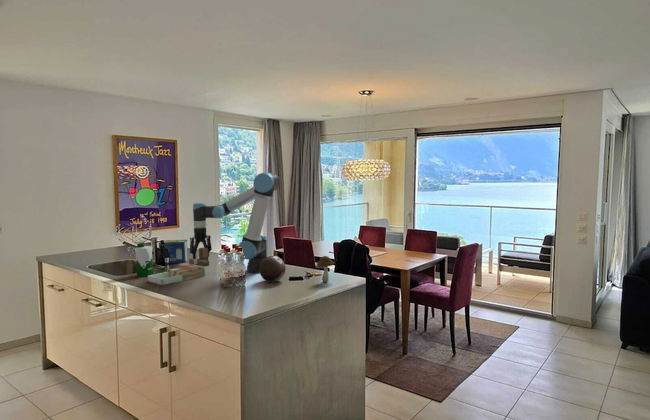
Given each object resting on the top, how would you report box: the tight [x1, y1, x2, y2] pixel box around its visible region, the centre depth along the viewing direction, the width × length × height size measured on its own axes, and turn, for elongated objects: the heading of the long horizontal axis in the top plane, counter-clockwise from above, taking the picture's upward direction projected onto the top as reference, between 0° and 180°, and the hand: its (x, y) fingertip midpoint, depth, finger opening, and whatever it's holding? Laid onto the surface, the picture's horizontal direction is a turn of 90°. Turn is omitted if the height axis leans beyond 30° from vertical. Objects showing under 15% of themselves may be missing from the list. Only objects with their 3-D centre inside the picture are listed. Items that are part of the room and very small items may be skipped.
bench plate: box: [168, 266, 206, 282], centre depth 257 cm, size 15×16×5 cm
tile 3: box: [178, 262, 188, 268], centre depth 261 cm, size 4×4×2 cm
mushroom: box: [316, 255, 335, 283], centre depth 238 cm, size 9×11×15 cm
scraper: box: [188, 246, 210, 268], centre depth 265 cm, size 16×7×10 cm, turn 49°
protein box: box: [163, 239, 189, 264], centre depth 305 cm, size 10×15×16 cm
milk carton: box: [134, 243, 154, 278], centre depth 262 cm, size 9×9×20 cm
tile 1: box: [188, 264, 199, 270], centre depth 254 cm, size 4×4×2 cm
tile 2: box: [183, 263, 193, 269], centre depth 258 cm, size 4×4×2 cm
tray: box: [147, 271, 184, 287], centre depth 246 cm, size 16×13×4 cm
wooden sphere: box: [259, 255, 286, 283], centre depth 240 cm, size 15×15×15 cm
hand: (201, 263), depth 265 cm, fingers closed on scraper, 7 cm apart
